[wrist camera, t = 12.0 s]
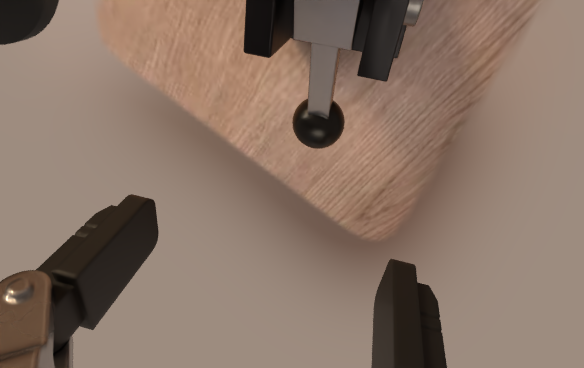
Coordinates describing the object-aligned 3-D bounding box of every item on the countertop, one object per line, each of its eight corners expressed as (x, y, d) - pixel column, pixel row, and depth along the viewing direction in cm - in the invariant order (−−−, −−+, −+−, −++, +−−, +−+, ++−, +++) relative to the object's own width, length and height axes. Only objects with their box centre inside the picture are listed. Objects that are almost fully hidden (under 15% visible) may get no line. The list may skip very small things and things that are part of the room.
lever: (345, 121, 22) (335, 162, 20) (299, 112, 22) (287, 151, 21) (388, -72, 12) (374, -15, 11) (303, -85, 12) (280, -30, 11)
